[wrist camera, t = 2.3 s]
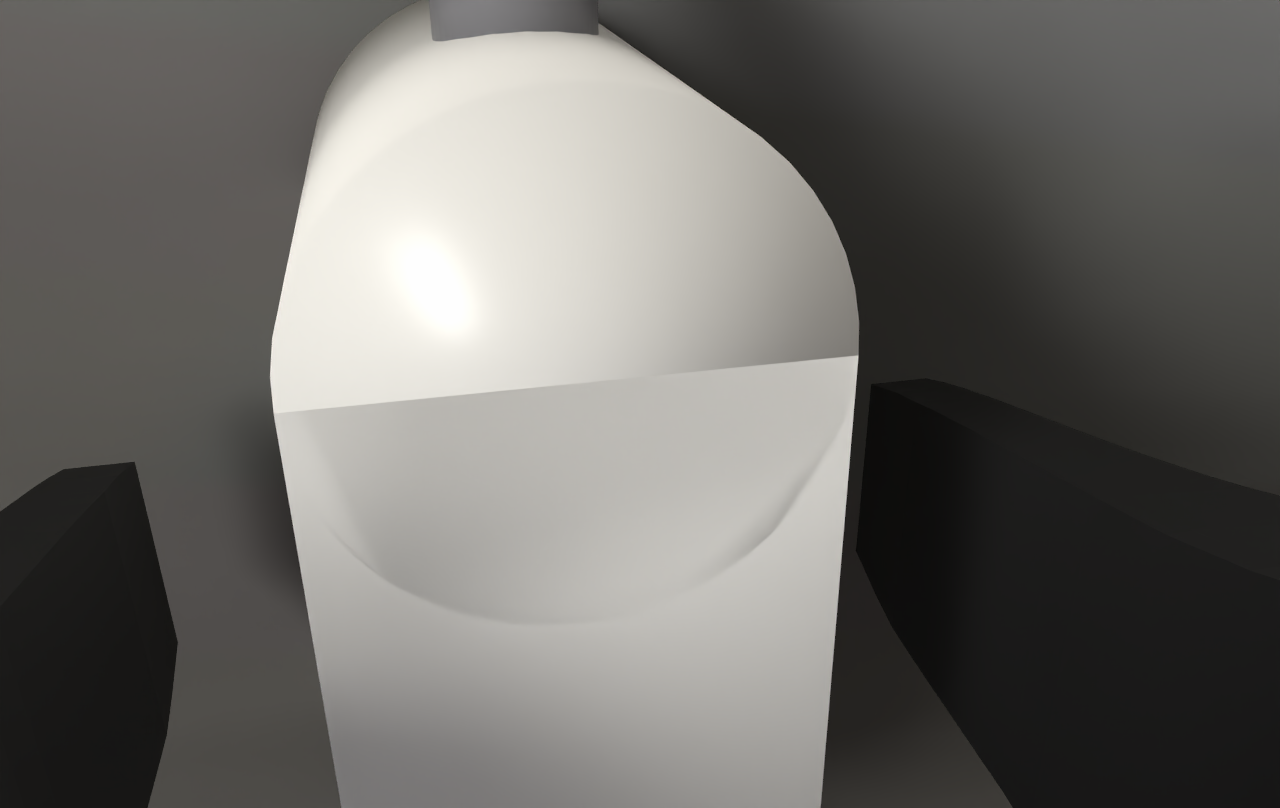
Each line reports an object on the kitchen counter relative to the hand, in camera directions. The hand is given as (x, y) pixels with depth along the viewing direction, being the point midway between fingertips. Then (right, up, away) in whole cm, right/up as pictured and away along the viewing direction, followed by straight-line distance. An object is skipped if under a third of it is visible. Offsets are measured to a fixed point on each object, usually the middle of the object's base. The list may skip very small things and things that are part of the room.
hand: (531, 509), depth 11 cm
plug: (0, +1, +1) cm, 1 cm away
